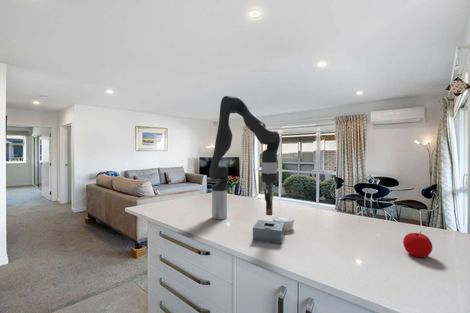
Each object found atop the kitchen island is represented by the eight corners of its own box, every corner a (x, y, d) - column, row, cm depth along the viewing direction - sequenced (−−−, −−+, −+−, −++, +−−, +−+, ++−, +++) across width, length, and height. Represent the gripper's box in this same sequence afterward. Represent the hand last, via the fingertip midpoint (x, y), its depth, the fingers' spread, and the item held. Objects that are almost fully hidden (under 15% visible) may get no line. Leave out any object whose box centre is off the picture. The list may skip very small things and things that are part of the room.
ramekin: (268, 228, 124) (268, 218, 124) (279, 223, 132) (280, 214, 132) (287, 233, 116) (287, 223, 116) (297, 228, 125) (298, 218, 124)
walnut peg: (266, 213, 112) (266, 192, 112) (272, 214, 111) (272, 193, 111) (265, 215, 109) (265, 194, 109) (271, 215, 108) (272, 194, 108)
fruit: (423, 262, 86) (424, 235, 85) (398, 252, 94) (398, 228, 94) (437, 258, 89) (438, 232, 89) (412, 249, 98) (412, 225, 97)
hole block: (258, 231, 119) (258, 219, 119) (284, 234, 115) (284, 222, 115) (252, 240, 106) (252, 227, 106) (281, 244, 102) (281, 230, 102)
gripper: (264, 170, 118) (264, 204, 118) (258, 172, 105) (258, 211, 105) (279, 171, 116) (279, 205, 116) (275, 173, 102) (275, 212, 102)
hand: (269, 208), depth 110 cm, fingers closed on walnut peg, 3 cm apart
